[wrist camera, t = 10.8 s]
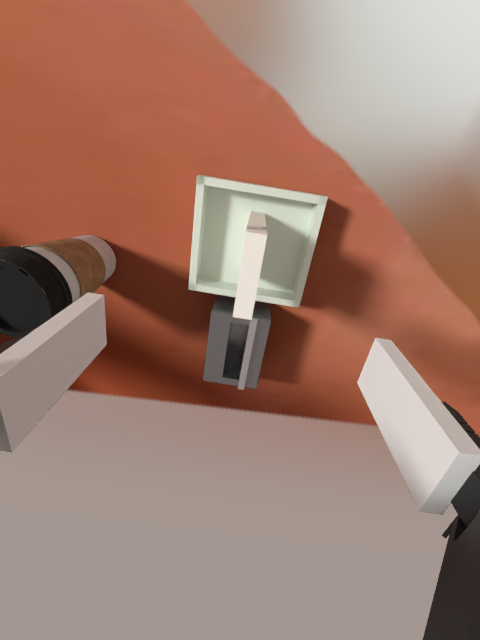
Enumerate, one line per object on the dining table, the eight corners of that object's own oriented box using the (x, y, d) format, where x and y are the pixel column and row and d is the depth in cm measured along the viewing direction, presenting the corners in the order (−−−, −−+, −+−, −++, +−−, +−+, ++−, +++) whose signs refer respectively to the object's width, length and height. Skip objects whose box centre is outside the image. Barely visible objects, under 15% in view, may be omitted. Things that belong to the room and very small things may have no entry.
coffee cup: (138, 256, 38) (73, 301, 25) (105, 300, 41) (30, 361, 28) (81, 209, 36) (-24, 230, 23) (50, 259, 39) (-59, 304, 26)
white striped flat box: (241, 269, 37) (232, 316, 25) (250, 210, 34) (245, 231, 22) (254, 271, 38) (251, 320, 25) (264, 212, 34) (267, 235, 22)
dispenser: (209, 355, 44) (202, 383, 38) (217, 292, 40) (210, 313, 34) (256, 362, 44) (256, 391, 38) (269, 301, 40) (271, 323, 34)
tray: (194, 280, 39) (188, 289, 36) (203, 175, 34) (197, 175, 31) (296, 297, 40) (299, 307, 36) (321, 195, 34) (327, 197, 31)
